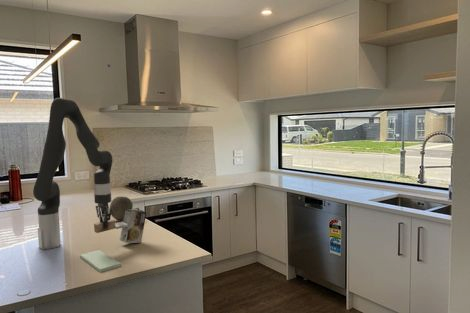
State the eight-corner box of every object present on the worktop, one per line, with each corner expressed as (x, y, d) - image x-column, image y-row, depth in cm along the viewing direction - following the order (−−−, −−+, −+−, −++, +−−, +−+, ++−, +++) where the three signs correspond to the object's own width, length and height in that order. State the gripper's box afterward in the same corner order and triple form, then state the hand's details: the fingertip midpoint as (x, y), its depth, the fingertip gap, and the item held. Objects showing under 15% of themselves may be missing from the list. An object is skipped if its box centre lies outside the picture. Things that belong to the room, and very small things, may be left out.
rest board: (99, 272, 144) (99, 269, 144) (80, 257, 161) (80, 254, 161) (120, 266, 150) (120, 263, 150) (99, 252, 167) (99, 249, 167)
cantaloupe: (133, 221, 220) (132, 198, 219) (109, 223, 216) (108, 199, 215) (133, 216, 234) (132, 193, 232) (110, 217, 230) (109, 195, 228)
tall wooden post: (98, 233, 163) (97, 225, 163) (93, 231, 168) (92, 223, 167) (128, 226, 174) (127, 218, 173) (122, 223, 178) (122, 216, 178)
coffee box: (134, 240, 184) (140, 209, 185) (141, 243, 179) (147, 211, 181) (119, 240, 177) (125, 208, 179) (125, 243, 173) (131, 210, 174)
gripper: (89, 191, 169) (90, 226, 171) (100, 195, 159) (102, 232, 161) (104, 189, 174) (106, 223, 176) (116, 193, 164) (117, 229, 166)
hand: (104, 227), depth 168 cm, fingers closed on tall wooden post, 3 cm apart
